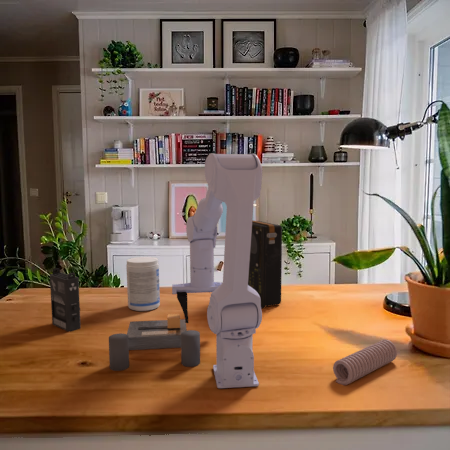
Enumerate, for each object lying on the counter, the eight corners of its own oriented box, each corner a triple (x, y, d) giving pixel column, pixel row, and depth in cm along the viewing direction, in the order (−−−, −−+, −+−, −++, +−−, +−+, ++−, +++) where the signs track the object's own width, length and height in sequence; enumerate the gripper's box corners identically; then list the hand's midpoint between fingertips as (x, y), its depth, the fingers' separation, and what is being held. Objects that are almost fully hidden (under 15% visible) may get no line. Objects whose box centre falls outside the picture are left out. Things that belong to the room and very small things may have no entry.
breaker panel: (187, 347, 104) (187, 333, 103) (126, 350, 102) (125, 336, 102) (185, 330, 114) (185, 318, 114) (130, 332, 113) (130, 320, 112)
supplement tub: (165, 308, 133) (164, 260, 131) (136, 314, 128) (134, 264, 126) (150, 300, 141) (149, 255, 139) (122, 306, 135) (121, 258, 134)
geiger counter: (86, 328, 117) (84, 272, 115) (70, 332, 113) (67, 275, 111) (66, 319, 123) (63, 266, 122) (50, 323, 120) (47, 269, 118)
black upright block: (236, 296, 146) (236, 220, 143) (259, 292, 149) (259, 219, 146) (260, 309, 132) (260, 225, 128) (284, 305, 135) (285, 224, 132)
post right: (200, 366, 94) (200, 336, 93) (181, 367, 93) (181, 337, 92) (199, 358, 97) (199, 329, 97) (181, 359, 97) (180, 330, 96)
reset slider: (180, 328, 107) (180, 317, 107) (167, 328, 107) (167, 318, 106) (180, 323, 110) (179, 313, 110) (167, 324, 110) (167, 314, 109)
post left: (128, 370, 92) (127, 340, 91) (108, 371, 91) (107, 341, 91) (130, 362, 96) (129, 333, 95) (111, 363, 95) (110, 333, 95)
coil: (379, 336, 98) (329, 359, 87) (398, 340, 95) (349, 364, 83) (380, 357, 99) (330, 382, 87) (400, 362, 95) (350, 388, 84)
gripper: (229, 262, 112) (229, 314, 114) (171, 264, 110) (172, 316, 112) (233, 268, 105) (233, 324, 107) (171, 270, 103) (172, 326, 105)
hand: (202, 321), depth 109 cm, fingers open, 7 cm apart
